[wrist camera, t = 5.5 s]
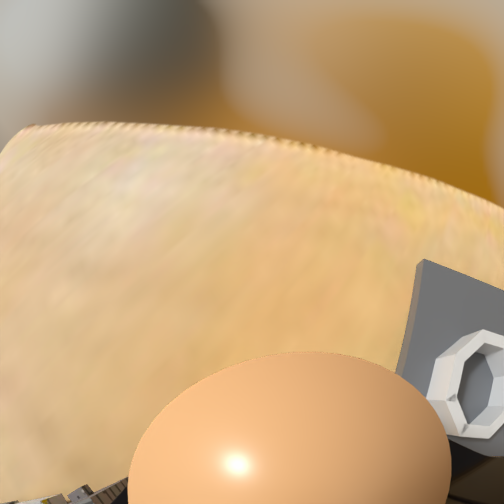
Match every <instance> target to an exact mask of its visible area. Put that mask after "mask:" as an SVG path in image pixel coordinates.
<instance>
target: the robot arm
mask: <svg viewBox="0 0 504 504" xmlns="http://www.w3.org/2000/svg"><path fill="white" fill-rule="evenodd" d="M448 441H449V446H450V453H451V481H450V487H449V492H448V496H447V499H446V503H445V504H504V457H491V456H487V455H483V454H481V453H478V452H476V451H474V450H472V449H469V448H467V447H465V446H463V445H461V444H459V443H456V442H454V441H452V440H450V439H448ZM110 504H128V484H127V485H126V486H125V488H124V489H123V490H122V491H121V492H120V493H119V495H118V496H117V497H116V498H115V499H114V500H113V501H112V502H111V503H110Z"/></svg>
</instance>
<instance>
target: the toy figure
mask: <svg viewBox="0 0 504 504" xmlns="http://www.w3.org/2000/svg"><path fill="white" fill-rule="evenodd" d="M128 478H129V476H128V477H126V478H124V479H122V480H120V481H118V482H116V483H114V484H112V485H110V486H107V487H105V488H103V489H101V490H99V491H96V492H93V491H92V490H91V489H90V487H89V486H88V485H87V484H86V485H84V486H82V487H80V488H78V489H77V490H75V491H73V492H72V493H70V494H69V495H67V496H68V497H69V499H70V500H71V501H72V502H70V503H67V502H66V500H65V498H64V497H63V495H62V494H57V495H53V496H49V497H44V498H39V499H34V500H30V501H25V502H20V503H19V502H18V501H12V502H7V503H2V504H110V503H111V502H112V501H113V500H114V499H115V498H116V497H117V496H118V495H119V493H120V492H121V491H122V490H123V489H124V488H125V486H126V485H127V484H128Z"/></svg>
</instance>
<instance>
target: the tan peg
mask: <svg viewBox="0 0 504 504" xmlns="http://www.w3.org/2000/svg"><path fill="white" fill-rule="evenodd" d="M450 481H451V453H450V446H449V441H448V438H447V435H446V432H445V429H444V426H443V424H442V422H441V420H440V418H439V416H438V415H437V413H436V411H435V410H434V408H433V407H432V406H431V404H430V403H429V402H428V400H427V399H426V398H425V397H424V396H423V395H422V394H421V393H420V392H419V391H418V390H417V389H416V388H415V387H414V386H413V385H412V384H410V383H409V382H407V381H406V380H405V379H403V378H402V377H400V376H399V375H397V374H396V373H394V372H392V371H390V370H388V369H386V368H384V367H382V366H380V365H377V364H374V363H371V362H369V361H366V360H363V359H360V358H355V357H351V356H346V355H342V354H334V353H324V352H291V353H283V354H275V355H268V356H264V357H260V358H256V359H251V360H247V361H244V362H241V363H239V364H236V365H233V366H230V367H227V368H224V369H222V370H220V371H218V372H216V373H214V374H212V375H210V376H208V377H206V378H204V379H202V380H200V381H199V382H197V383H196V384H194V385H193V386H191V387H189V388H188V389H186V390H185V391H183V392H182V393H181V394H180V395H179V396H177V397H176V398H175V399H174V400H173V401H171V402H170V403H169V404H168V405H167V406H166V407H165V408H164V409H163V410H162V411H161V412H160V413H159V414H158V416H157V417H156V418H155V419H154V420H153V421H152V423H151V424H150V426H149V427H148V429H147V430H146V432H145V433H144V435H143V436H142V438H141V440H140V442H139V444H138V446H137V449H136V451H135V453H134V456H133V460H132V463H131V466H130V470H129V478H128V504H445V503H446V499H447V496H448V492H449V487H450Z"/></svg>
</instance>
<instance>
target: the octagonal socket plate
mask: <svg viewBox="0 0 504 504" xmlns="http://www.w3.org/2000/svg"><path fill="white" fill-rule="evenodd" d="M395 373H396V374H397V375H399V376H400V377H402V378H403V379H405V380H406V381H407V382H409V383H410V384H412V385H413V386H414V387H415V388H416V389H417V390H418V391H419V392H420V393H421V394H422V395H423V396H424V397H425V398H426V399H427V400H428V402H429V403H430V404H431V406H432V407H433V408H434V410H435V411H436V413H437V415H438V416H439V418H440V420H441V422H442V424H443V426H444V429H445V432H446V435H447V438H448V439H450V440H452V441H454V442H456V443H459V444H461V445H463V446H465V447H467V448H469V449H472V450H474V451H476V452H478V453H481V454H483V455H487V456H504V291H503V290H501V289H499V288H496V287H494V286H491V285H489V284H487V283H484V282H482V281H479V280H477V279H474V278H472V277H470V276H467V275H465V274H462V273H460V272H457V271H454V270H452V269H449V268H447V267H444V266H442V265H439V264H436V263H434V262H431V261H429V260H426V259H423V260H422V261H421V262H420V263H419V264H418V265H417V267H416V274H415V281H414V288H413V294H412V300H411V305H410V311H409V316H408V321H407V326H406V331H405V335H404V340H403V344H402V348H401V352H400V356H399V360H398V364H397V368H396V372H395Z"/></svg>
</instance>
